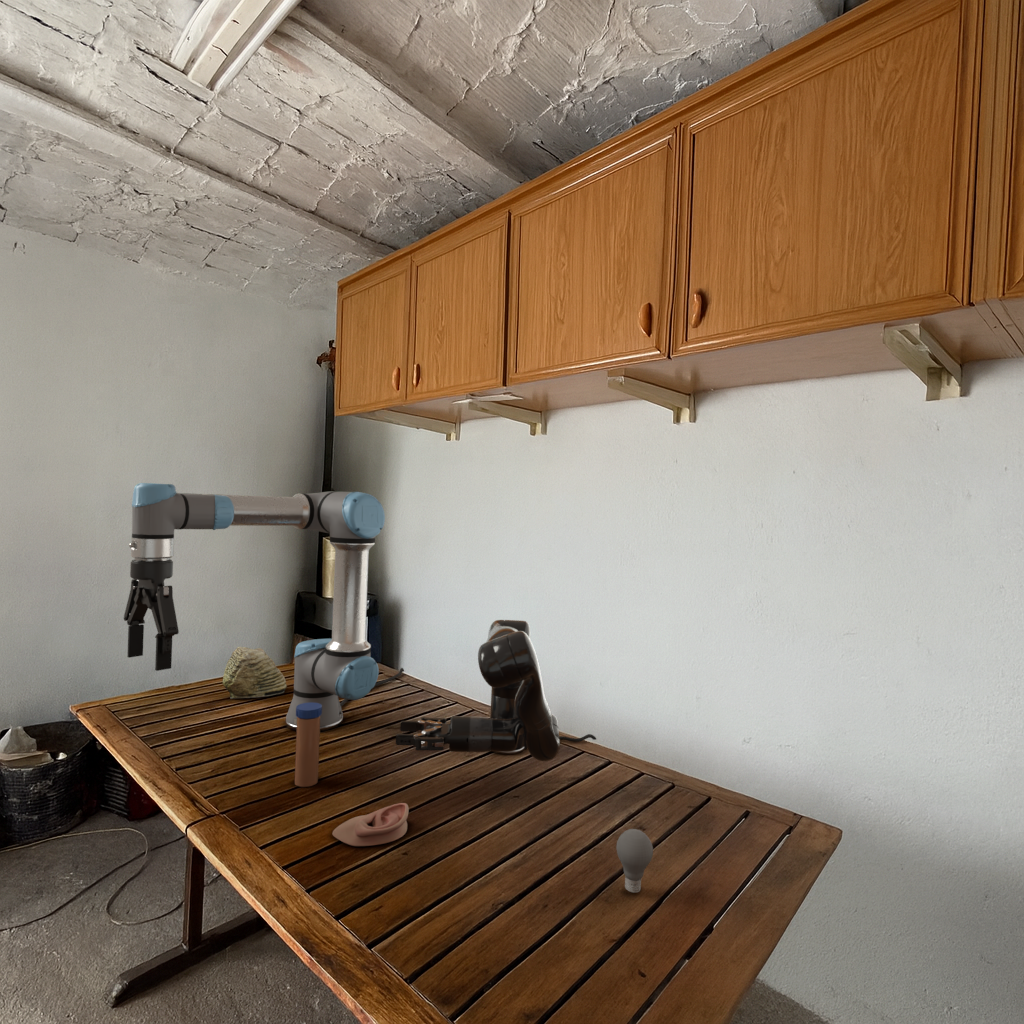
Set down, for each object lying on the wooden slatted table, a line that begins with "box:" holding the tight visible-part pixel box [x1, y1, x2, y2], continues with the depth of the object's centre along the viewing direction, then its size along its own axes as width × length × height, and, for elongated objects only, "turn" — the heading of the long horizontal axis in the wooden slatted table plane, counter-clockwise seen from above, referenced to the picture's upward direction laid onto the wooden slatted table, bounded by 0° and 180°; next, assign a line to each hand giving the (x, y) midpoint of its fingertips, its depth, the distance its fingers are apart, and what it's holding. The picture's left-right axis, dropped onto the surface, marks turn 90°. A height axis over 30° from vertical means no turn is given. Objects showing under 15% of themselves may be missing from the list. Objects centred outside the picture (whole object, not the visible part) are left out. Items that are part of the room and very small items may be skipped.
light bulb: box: [615, 828, 654, 894], centre depth 106 cm, size 6×6×10 cm
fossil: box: [222, 646, 288, 699], centre depth 198 cm, size 9×18×15 cm, turn 132°
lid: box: [296, 703, 322, 719], centre depth 140 cm, size 6×6×2 cm
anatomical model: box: [332, 802, 410, 847], centre depth 121 cm, size 13×4×12 cm
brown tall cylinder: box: [294, 716, 321, 788], centre depth 140 cm, size 5×5×16 cm
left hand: (148, 662), depth 129 cm, fingers open, 13 cm apart
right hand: (398, 732), depth 141 cm, fingers open, 8 cm apart
